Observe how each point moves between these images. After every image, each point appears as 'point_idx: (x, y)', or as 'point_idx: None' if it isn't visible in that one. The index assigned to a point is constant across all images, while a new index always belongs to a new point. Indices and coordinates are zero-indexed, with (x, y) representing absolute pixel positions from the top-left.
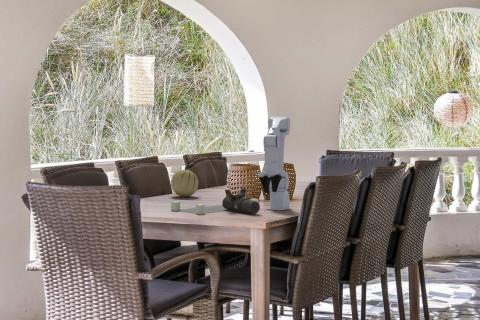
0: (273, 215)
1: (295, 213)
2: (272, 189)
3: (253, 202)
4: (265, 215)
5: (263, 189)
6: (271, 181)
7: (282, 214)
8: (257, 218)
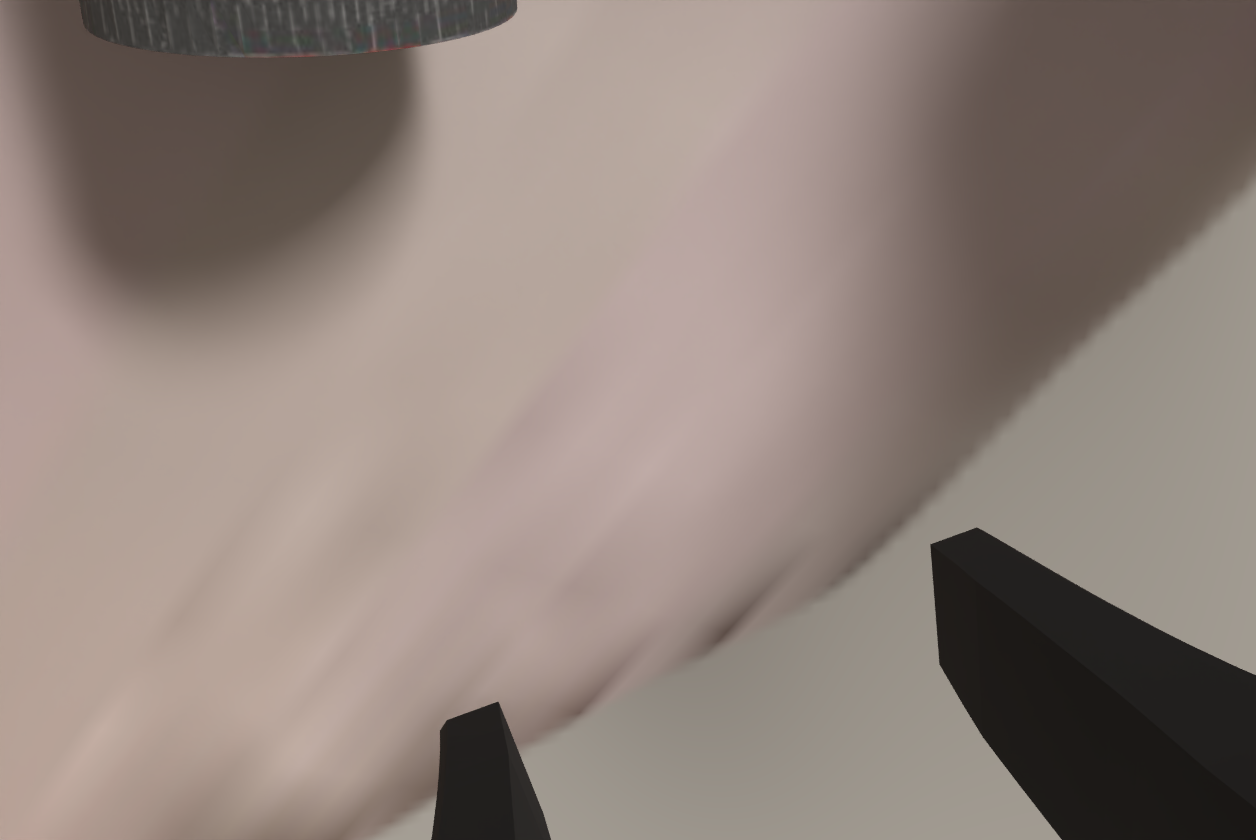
0: (628, 321)
1: (1201, 232)
2: (977, 606)
3: (243, 52)
4: (466, 252)
5: (435, 817)
6: (1238, 807)
7: (897, 258)
8: (4, 605)
